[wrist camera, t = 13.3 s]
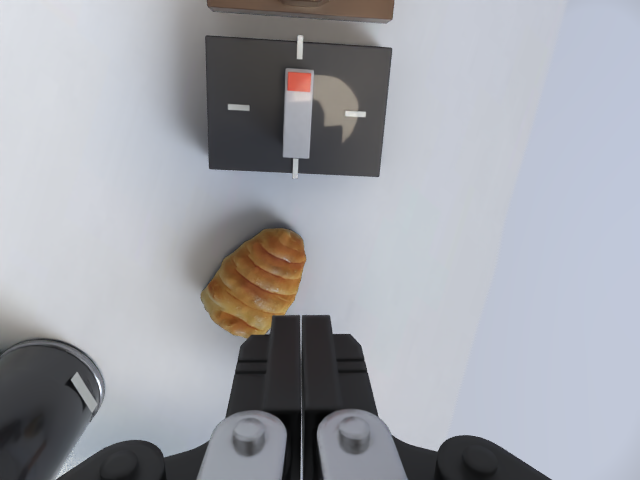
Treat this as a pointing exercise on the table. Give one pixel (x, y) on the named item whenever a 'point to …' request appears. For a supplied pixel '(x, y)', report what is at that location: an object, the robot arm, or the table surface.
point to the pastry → (256, 282)
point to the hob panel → (268, 105)
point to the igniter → (311, 9)
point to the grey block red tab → (297, 112)
